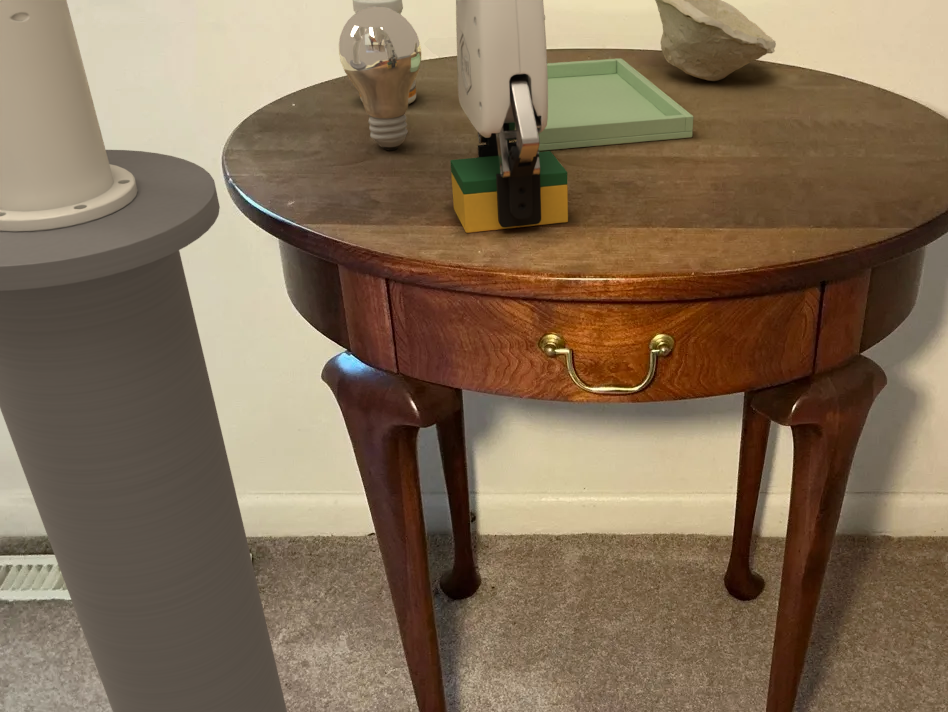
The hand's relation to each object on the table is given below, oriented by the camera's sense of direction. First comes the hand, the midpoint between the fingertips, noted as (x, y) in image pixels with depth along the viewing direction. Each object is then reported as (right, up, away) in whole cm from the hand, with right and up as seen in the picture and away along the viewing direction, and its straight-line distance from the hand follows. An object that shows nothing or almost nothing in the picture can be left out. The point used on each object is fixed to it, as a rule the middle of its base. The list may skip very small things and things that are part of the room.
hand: (509, 206), depth 82 cm
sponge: (0, -1, 0) cm, 1 cm away
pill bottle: (-15, +16, +25) cm, 33 cm away
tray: (+5, +15, +23) cm, 28 cm away
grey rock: (+19, +22, +34) cm, 45 cm away
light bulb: (-12, +8, +13) cm, 20 cm away
